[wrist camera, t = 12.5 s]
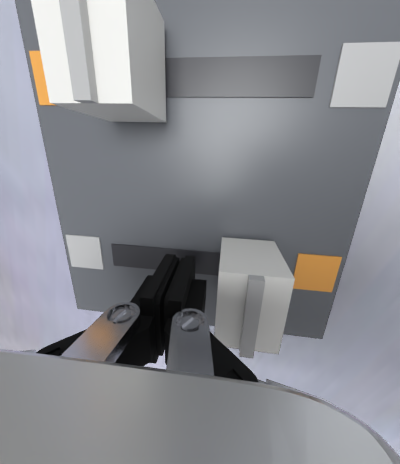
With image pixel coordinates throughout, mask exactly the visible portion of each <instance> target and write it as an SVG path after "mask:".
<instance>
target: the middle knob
mask: <svg viewBox="0 0 400 464" xmlns="http://www.w3.org/2000/svg"><path fill="white" fill-rule="evenodd" d="M31 4H32V9H33V15H34V20H35V26H36V31H37V37H38V42H39V47H40V53H41V58H42V64H43V69H44V75H45V80H46V85H47V91H48V96H49V102H50V103H51V104H55V105H58V106H61V107H64V108H68V109H71V110H74V111H78V112H81V113H84V114H87V115H91V116H94V117H97V118H101V119H104V120H107V121H110V122H166V82H165V32H164V20H163V18H162V16H161V14H160V12H159V10H158V8H157V5H156V3H155V1H154V0H31Z"/></svg>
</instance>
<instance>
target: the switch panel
mask: <svg viewBox="0 0 400 464" xmlns="http://www.w3.org/2000/svg"><path fill="white" fill-rule="evenodd" d="M154 1H155V3H156V5H157V8H158V10H159V12H160V14H161V16H162V18H163V20H164V32H165V82H166V122H110V121H107V120H104V119H101V118H97V117H94V116H91V115H87V114H84V113H81V112H78V111H74V110H71V109H68V108H64V107H61V106H58V105H55V104H51V103H50V102H49V96H48V91H47V85H46V80H45V75H44V69H43V64H42V58H41V53H40V47H39V42H38V37H37V31H36V26H35V20H34V15H33V9H32V4H31V0H15V4H16V9H17V14H18V18H19V23H20V28H21V33H22V38H23V43H24V48H25V53H26V58H27V63H28V68H29V72H30V77H31V82H32V87H33V92H34V97H35V102H36V107H37V112H38V117H39V122H40V127H41V131H42V136H43V141H44V146H45V151H46V156H47V161H48V166H49V171H50V176H51V181H52V185H53V190H54V195H55V200H56V205H57V210H58V215H59V220H60V225H61V230H62V235H63V239H64V244H65V249H66V254H67V259H68V264H69V269H70V274H71V279H72V284H73V289H74V294H75V298H76V303H77V308H78V309H84V310H92V311H100V312H105V311H106V310H107V309H108V308H110V307H111V306H113V305H115V304H118V303H122V302H130V301H131V300H132V298H133V297H134V295H135V294H136V292H137V291H138V289H139V288H140V286H141V285H142V283H143V281H144V280H145V278H146V277H147V276H148V275H153V274H154V272H155V271H156V269H157V267H158V266H159V264H160V262H161V261H162V259H163V257H164V256H165V254H175V255H176V257H179V259H180V260H181V258H185V256H186V255H188V256H195V257H196V262H195V279H200V280H207V286H206V302H205V311H204V314H205V315H206V316H207V318H208V323H209V325H213V326H215V318H216V304H217V290H218V276H219V264H220V253H221V242H222V237H226V238H239V239H252V240H266V241H275V243H276V245H277V247H278V249H279V251H280V252H281V254H282V256H283V258H284V260H285V262H286V263H287V265H288V267H289V269H290V271H291V273H292V275H293V276H294V278H295V281H294V286H293V290H292V295H291V300H290V304H289V309H288V314H287V318H286V323H285V328H284V332H283V334H286V335H294V336H302V337H310V338H318V339H322V338H323V335H324V331H325V328H326V325H327V321H328V318H329V315H330V311H331V308H332V305H333V301H334V298H335V295H336V291H337V288H338V285H339V281H340V278H341V275H342V271H343V268H344V265H345V261H346V258H347V255H348V251H349V248H350V245H351V241H352V238H353V235H354V231H355V228H356V225H357V221H358V218H359V214H360V211H361V208H362V204H363V201H364V198H365V194H366V191H367V188H368V184H369V181H370V178H371V174H372V171H373V168H374V164H375V161H376V158H377V154H378V151H379V148H380V144H381V141H382V138H383V134H384V131H385V128H386V124H387V121H388V118H389V114H390V111H391V108H392V104H393V101H394V98H395V94H396V91H397V88H398V84H399V81H400V0H154Z"/></svg>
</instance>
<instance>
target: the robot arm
mask: <svg viewBox="0 0 400 464" xmlns="http://www.w3.org/2000/svg"><path fill="white" fill-rule="evenodd" d="M195 262H196V257H195V256H188V255H186V256H185V258H181V260H180V259H179V257H176V255H175V254H165V256H164V257H163V259H162V261H161V262H160V264H159V266H158V267H157V269H156V271H155V272H154V274H153V275H148V276H147V277H146V278H145V280H144V281H143V283H142V285H141V286H140V288H139V289H138V291H137V292H136V294H135V295H134V297H133V298H132V300H131V301H130V302H122V303H118V304H115V305H113V306H111V307H110V308H108V309H107V310H106V311H105V312H104V313H103V314H102V315H101V316H100V317H99V318H98V319H97V320H96V321H95V322H94V323H93V324H92V325H91V326H90V327H89V328H88V329H86V330H84V331H82V332H79V333H77V334H74V335H72V336H70V337H67V338H65V339H63V340H60V341H58V342H56V343H53V344H51V345H48V346H46V347H44V348H43V349H41V350H39V351H38V352H36V350H26V351H13V350H3V349H0V464H400V457H399V455H398V454H397V453H396V452H395V451H394V449H393V448H392V447H391V446H390V445H389V444H388V443H387V442H386V441H385V440H384V439H383V438H382V437H381V436H380V435H379V434H378V433H377V432H375V431H374V430H373V429H372V428H371V427H369V426H368V425H367V424H365V423H364V422H362V421H361V420H359V419H358V418H356V417H355V416H353V415H351V414H350V413H348V412H346V411H344V410H342V409H340V408H338V407H336V406H335V405H334V404H333V403H331V402H329V401H327V400H325V399H323V398H320V397H317V396H314V395H311V394H308V393H305V392H303V391H300V390H297V389H294V388H291V387H288V386H285V385H283V384H280V383H277V382H274V381H271V380H268V379H266V382H263V381H261V380H258V379H257V378H256V376H255V375H254V374H253V372H252V371H251V370H250V369H249V368H248V367H247V366H246V365H245V364H243V363H242V362H241V361H240V360H239V359H238V358H237V357H236V356H235V355H234V354H233V353H232V352H231V351H230V350H229V349H228V348H227V347H226V346H224V345H223V344H222V343H221V342H220V341H219V340H218V339H217V338H216V337H215V336H214V335H213V334H212V333H211V332H210V331H209V323H208V318H207V316H206V315H205V314H204V311H205V302H206V286H207V280H200V279H195ZM164 350H165V363H166V365H167V369H166V370H165V369H158V368H150V367H144V365H146V364H147V363H156V362H157V359H158V356H159V355H160V356H162V355H163V353H164Z"/></svg>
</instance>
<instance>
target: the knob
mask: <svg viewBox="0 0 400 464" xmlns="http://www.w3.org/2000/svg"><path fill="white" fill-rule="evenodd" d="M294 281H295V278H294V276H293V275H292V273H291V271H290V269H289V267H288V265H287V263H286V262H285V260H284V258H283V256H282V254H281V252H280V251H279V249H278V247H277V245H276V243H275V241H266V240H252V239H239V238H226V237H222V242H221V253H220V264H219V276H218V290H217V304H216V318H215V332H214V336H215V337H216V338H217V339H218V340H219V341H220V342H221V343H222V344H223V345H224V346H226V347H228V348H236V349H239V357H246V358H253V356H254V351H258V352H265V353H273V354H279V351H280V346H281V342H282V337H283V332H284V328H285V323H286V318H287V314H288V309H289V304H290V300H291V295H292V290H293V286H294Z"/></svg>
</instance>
